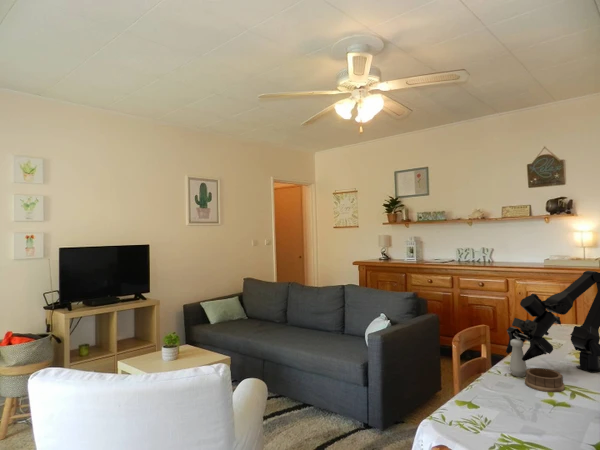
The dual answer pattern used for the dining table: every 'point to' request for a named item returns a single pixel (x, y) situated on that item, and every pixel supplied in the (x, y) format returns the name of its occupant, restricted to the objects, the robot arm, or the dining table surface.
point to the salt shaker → (517, 359)
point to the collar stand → (544, 380)
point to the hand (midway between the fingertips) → (514, 356)
